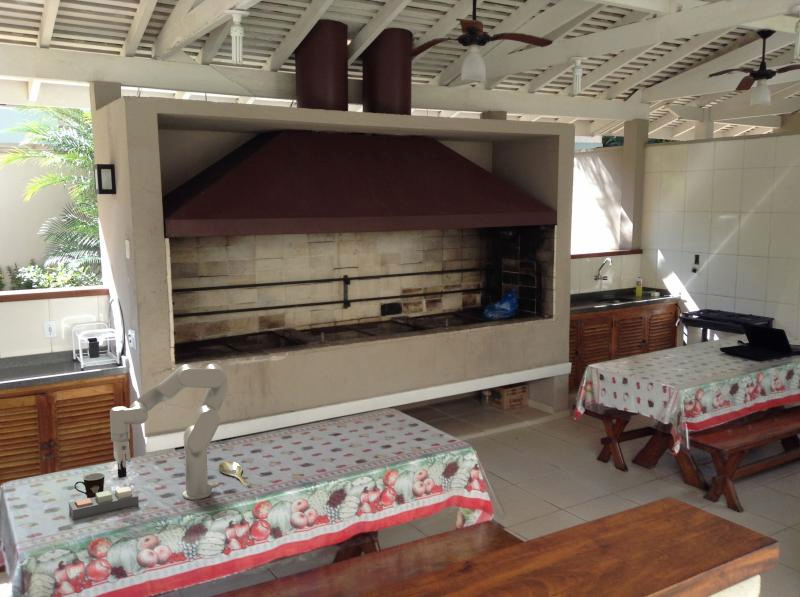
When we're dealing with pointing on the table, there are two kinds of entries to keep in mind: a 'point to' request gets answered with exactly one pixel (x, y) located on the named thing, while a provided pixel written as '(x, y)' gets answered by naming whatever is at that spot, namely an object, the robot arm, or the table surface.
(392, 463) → the table surface
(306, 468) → the table surface
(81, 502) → the button terracotta
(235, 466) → the spoon
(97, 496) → the button sage
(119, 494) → the button cream
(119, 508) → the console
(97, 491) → the coffee mug
